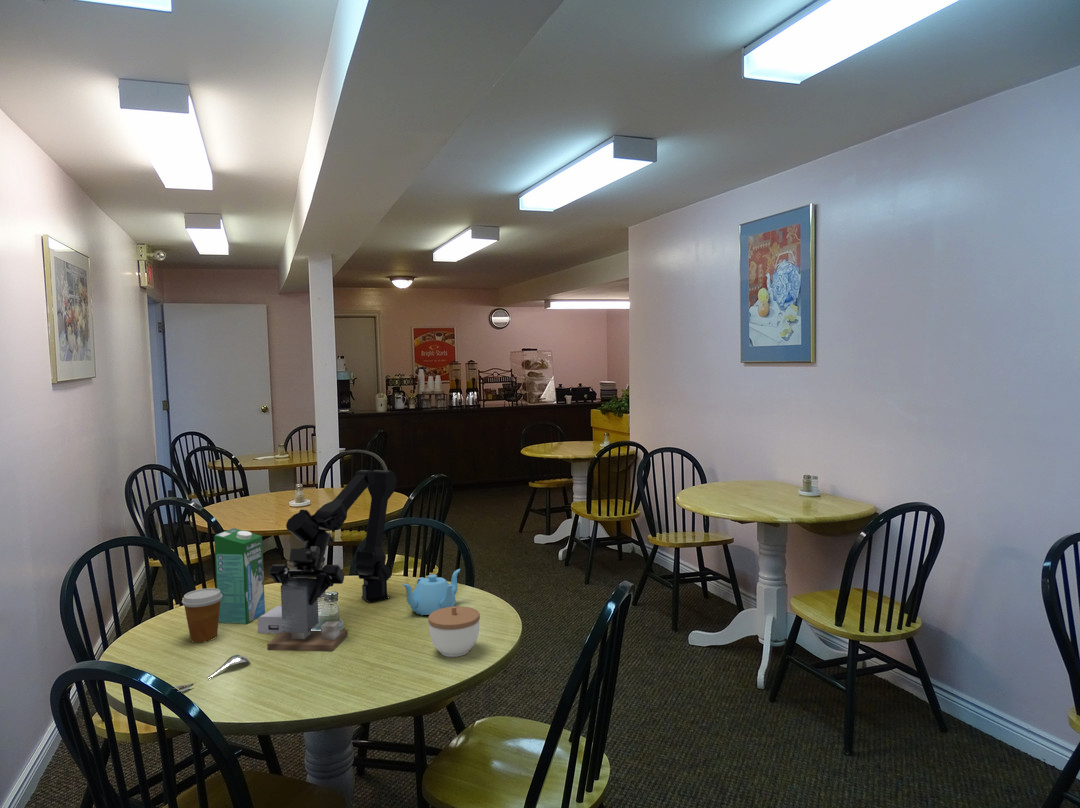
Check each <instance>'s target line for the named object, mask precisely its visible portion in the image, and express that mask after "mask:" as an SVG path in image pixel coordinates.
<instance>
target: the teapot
mask: <svg viewBox="0 0 1080 808" xmlns="http://www.w3.org/2000/svg"><path fill="white" fill-rule="evenodd" d="M460 571H461V568H458V569H455V570H454V571H453V574H452V575H451V579H450V584H449V581H447V580H446V579H445V578H444V577H438V575H437V574H433V573H432V574H428V575H427V577H423V576H422V577H419V578H417V580H416V586H415V588H414V589H413V588H412V586H411V585H410V584H408V583H401V585H402V586H403V587H405V589H406V601H407V604H408V606H410V608H411V609H412V611H413V612H414V613H415V612H416V613H415V614H416V615H419V614H421V615H420V616H423V615H430V614H431V613H432V612H434V611H436V610H438V609H442V608H446V607H454V606H456V595H457V591H458V575H459V573H460ZM412 589H413V590H412Z"/></svg>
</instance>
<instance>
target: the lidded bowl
mask: <svg viewBox="0 0 1080 808" xmlns="http://www.w3.org/2000/svg"><path fill="white" fill-rule="evenodd" d="M427 617H428V618H427V619H428V620H427V621H428V629H429V637H430V640H431V642H432V645H433V646H434V648H435V649H436V651H439V652H440V654H441V656H444V657H446V658H459V657H462V655H463V656H465V655H464V654H466V653H467V654H469V653H470V651H469V650H471V649H472V648H473V647H474V646H475V644H476V643H477V640H478V637H479V633H480V619H481V614H480V612H479V610H477V609H475V608H473V607H468V606H459V605H458V606H456V605H454V607H446V608H442V609H438V610H436V611H434V612H432V613H431V614H430V615H429V616H427ZM467 654H466V655H467ZM458 656H459V657H458Z"/></svg>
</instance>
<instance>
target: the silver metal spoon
mask: <svg viewBox="0 0 1080 808" xmlns="http://www.w3.org/2000/svg"><path fill="white" fill-rule="evenodd" d="M248 662H249V663H248ZM242 663H248V664H251V661H250V659H249V658H247V657H245V656H244V655H241V654H235V655H234V654H233V655H232V656H231V657H229V658H227V660H226V661H224V663H222V665H221V666H220V667H219V668H217V670H215V671H214V672H212V673H211V674H210V675H208V676H207V677H206V678H210V677H212V678H213V677H214V676H215V675H217V674H218V673H220V672H221V671H222V670H224V669H226V668H228V667H231V666H235V665H239V664H242ZM210 679H211V678H210ZM190 684H191V683H188V684H180V685H173V687H176V688H175V689H179V690H180V691H179V692H185V690H186V691H189V690H188V688H190V687H192V686H193V685H194V684H193V685H190ZM187 685H189V686H187ZM184 686H185V687H184Z"/></svg>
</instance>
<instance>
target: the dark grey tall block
mask: <svg viewBox="0 0 1080 808" xmlns="http://www.w3.org/2000/svg"><path fill="white" fill-rule="evenodd" d="M315 583H316V577H293V578H292V579H290V580H289V581H287V582H286V583H284V584H283V585H282V584H281V585H280V602H281V603H280V604H281V607H282V629H283V633H308V632H309V631H310V630H311V629H315V627H316V626H317V625H318V624H319V600H318V599H319V598H318V599H317V600H316V601H315V602H314V604H313V605H310V604H309V603H310V598H311V595H312V592H313V589H314V586H315Z"/></svg>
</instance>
